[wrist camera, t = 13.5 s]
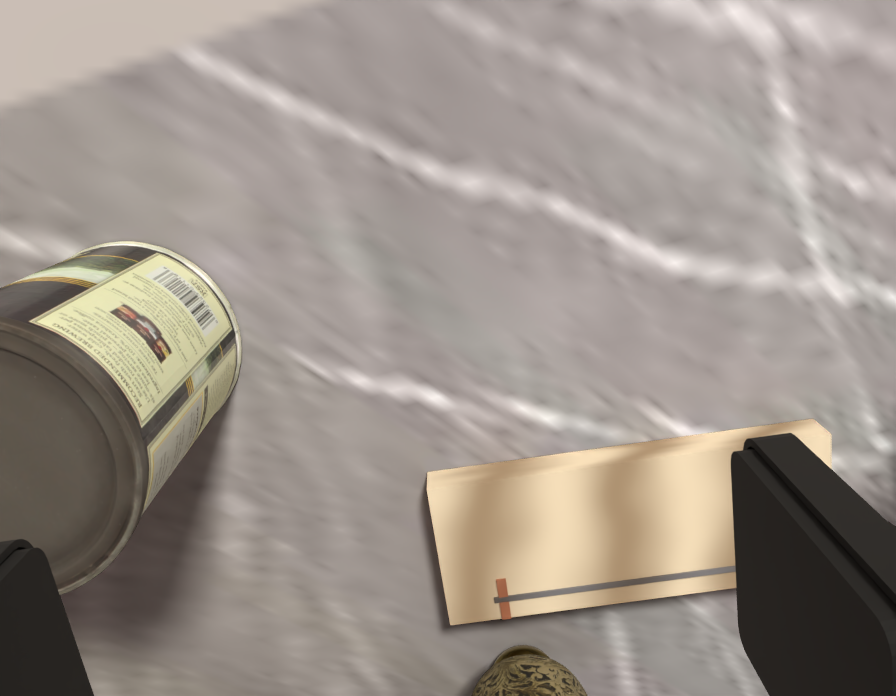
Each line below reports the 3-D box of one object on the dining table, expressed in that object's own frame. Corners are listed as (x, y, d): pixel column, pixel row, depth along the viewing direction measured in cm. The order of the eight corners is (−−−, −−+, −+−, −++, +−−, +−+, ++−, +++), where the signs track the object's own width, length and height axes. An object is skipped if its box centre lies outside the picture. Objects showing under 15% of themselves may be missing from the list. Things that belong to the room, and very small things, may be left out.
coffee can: (10, 393, 40) (-211, 541, 26) (68, 205, 37) (-146, 263, 24) (204, 469, 41) (88, 647, 28) (274, 293, 38) (183, 394, 25)
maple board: (812, 418, 40) (832, 435, 38) (814, 554, 43) (833, 576, 41) (427, 472, 41) (426, 491, 39) (449, 602, 44) (450, 626, 42)
